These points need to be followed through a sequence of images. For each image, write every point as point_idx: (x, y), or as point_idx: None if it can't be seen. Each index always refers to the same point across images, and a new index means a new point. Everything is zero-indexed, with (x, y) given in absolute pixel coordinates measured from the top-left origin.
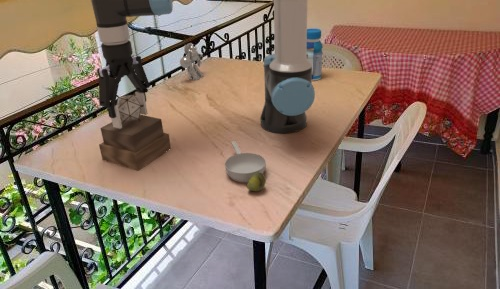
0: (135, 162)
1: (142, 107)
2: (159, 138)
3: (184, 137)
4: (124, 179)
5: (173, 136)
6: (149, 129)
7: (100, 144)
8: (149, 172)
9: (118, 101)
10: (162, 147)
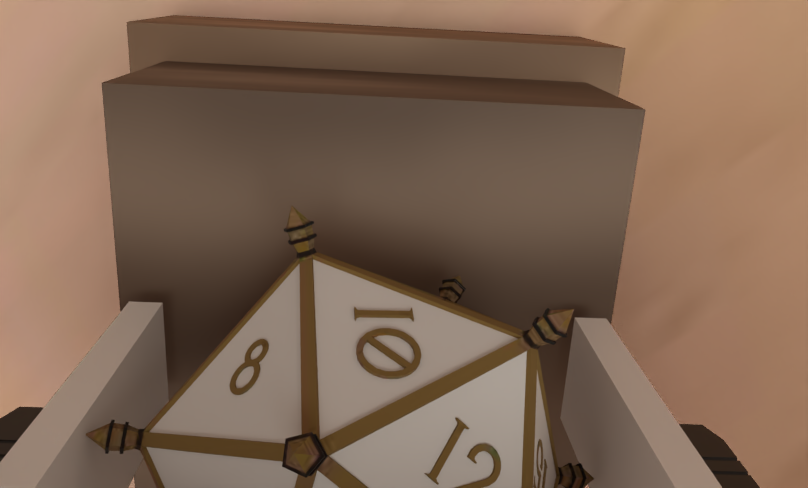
0: None
1: (589, 440)
2: None
3: (727, 372)
4: (63, 367)
5: (723, 289)
6: None
7: (138, 34)
8: None
9: (240, 478)
10: None
